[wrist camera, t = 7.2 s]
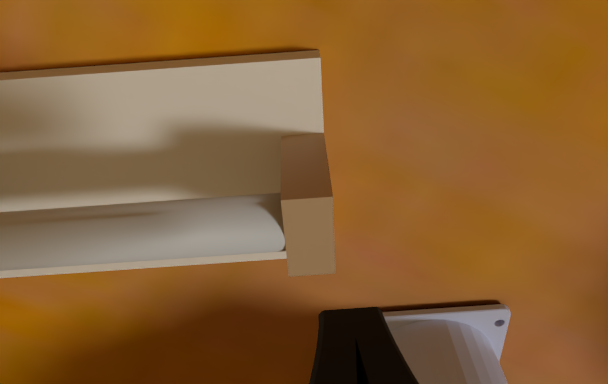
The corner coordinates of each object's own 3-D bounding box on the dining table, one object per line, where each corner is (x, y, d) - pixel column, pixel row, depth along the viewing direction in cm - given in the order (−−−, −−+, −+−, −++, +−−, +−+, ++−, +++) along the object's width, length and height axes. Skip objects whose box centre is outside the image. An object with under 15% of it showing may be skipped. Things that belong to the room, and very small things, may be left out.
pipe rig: (319, 50, 18) (330, 111, 14) (327, 243, 23) (337, 332, 19) (-294, 93, 18) (-470, 167, 14) (-151, 276, 23) (-248, 371, 19)
